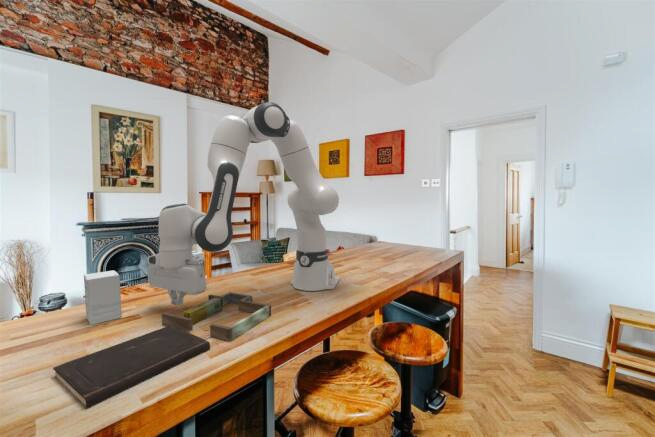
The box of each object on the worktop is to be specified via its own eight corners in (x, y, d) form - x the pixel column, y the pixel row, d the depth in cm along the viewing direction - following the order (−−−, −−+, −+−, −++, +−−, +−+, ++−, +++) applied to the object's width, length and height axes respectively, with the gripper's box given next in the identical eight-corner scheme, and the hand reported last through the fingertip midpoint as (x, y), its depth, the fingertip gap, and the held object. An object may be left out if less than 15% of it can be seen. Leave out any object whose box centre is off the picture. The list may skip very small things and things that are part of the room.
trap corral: (220, 299, 100) (220, 290, 100) (279, 309, 91) (279, 300, 91) (162, 324, 80) (161, 313, 80) (229, 341, 71) (229, 329, 71)
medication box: (215, 309, 92) (215, 297, 91) (222, 311, 91) (222, 298, 90) (183, 325, 81) (182, 310, 80) (190, 326, 80) (190, 312, 79)
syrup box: (196, 294, 105) (195, 253, 104) (181, 293, 106) (180, 253, 105) (205, 289, 111) (204, 251, 110) (191, 288, 112) (190, 250, 111)
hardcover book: (53, 378, 57) (52, 367, 57) (171, 333, 76) (171, 324, 76) (86, 412, 48) (85, 398, 48) (210, 351, 68) (210, 341, 67)
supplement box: (116, 310, 90) (115, 269, 89) (122, 318, 84) (120, 274, 83) (85, 317, 84) (83, 273, 83) (88, 325, 79) (86, 279, 78)
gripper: (211, 259, 87) (211, 306, 88) (162, 253, 95) (162, 296, 96) (193, 264, 81) (194, 313, 82) (143, 257, 89) (144, 302, 90)
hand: (177, 304), depth 89 cm, fingers closed
